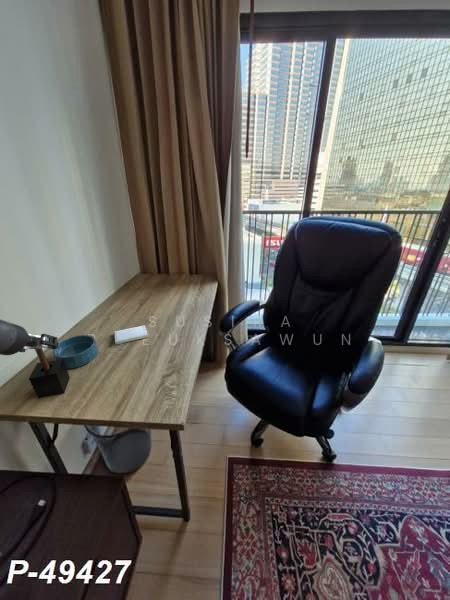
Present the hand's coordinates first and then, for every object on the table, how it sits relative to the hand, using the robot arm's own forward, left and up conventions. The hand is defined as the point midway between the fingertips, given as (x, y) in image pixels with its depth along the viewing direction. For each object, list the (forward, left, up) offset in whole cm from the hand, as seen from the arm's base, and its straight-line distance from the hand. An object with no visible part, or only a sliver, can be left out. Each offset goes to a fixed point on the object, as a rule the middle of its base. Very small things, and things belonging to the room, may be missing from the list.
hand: (40, 347), depth 73 cm
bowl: (+4, +13, -15) cm, 20 cm away
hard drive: (+22, +22, -15) cm, 35 cm away
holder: (0, -1, -15) cm, 15 cm away
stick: (0, -1, -15) cm, 15 cm away
